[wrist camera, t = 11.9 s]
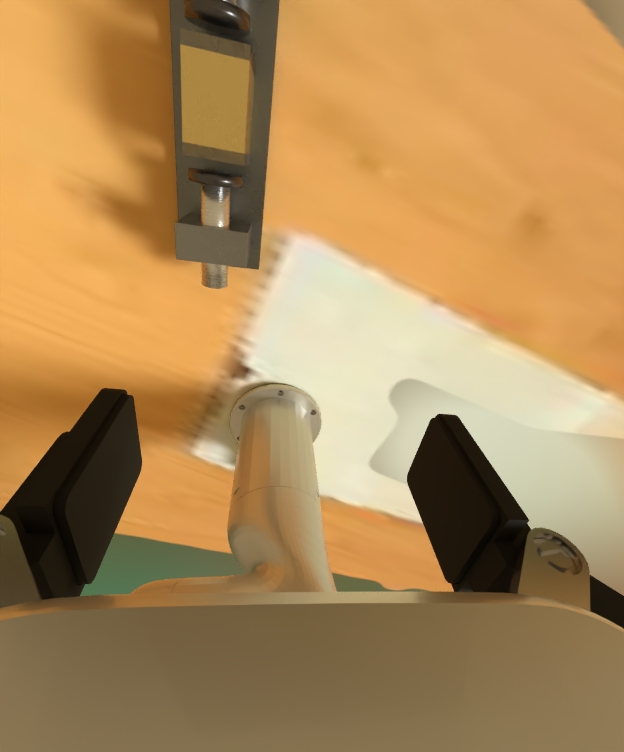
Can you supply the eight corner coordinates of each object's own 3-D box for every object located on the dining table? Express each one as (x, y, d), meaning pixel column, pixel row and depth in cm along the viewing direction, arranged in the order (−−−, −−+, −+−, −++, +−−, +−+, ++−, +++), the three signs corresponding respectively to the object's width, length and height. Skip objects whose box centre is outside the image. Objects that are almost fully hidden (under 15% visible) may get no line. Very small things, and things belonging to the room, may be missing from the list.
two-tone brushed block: (197, 50, 28) (180, 27, 23) (255, 64, 28) (250, 44, 23) (197, 154, 31) (182, 154, 26) (249, 164, 32) (243, 165, 27)
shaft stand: (258, 276, 38) (255, 297, 33) (182, 266, 37) (165, 286, 32) (289, -130, 24) (293, -217, 18) (166, -167, 23) (130, -273, 17)
